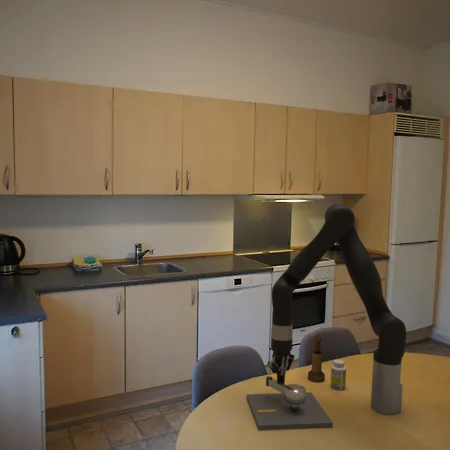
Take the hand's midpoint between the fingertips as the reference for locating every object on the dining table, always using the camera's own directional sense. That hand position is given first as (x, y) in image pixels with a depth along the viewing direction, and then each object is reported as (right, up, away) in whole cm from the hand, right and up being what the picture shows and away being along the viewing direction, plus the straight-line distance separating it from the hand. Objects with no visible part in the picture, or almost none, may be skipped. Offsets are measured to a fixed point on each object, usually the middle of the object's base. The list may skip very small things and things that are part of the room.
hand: (280, 383), depth 160 cm
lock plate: (+1, -7, -7) cm, 10 cm away
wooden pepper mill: (+17, -6, +21) cm, 28 cm away
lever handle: (0, -5, -5) cm, 7 cm away
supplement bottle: (+24, -7, +14) cm, 29 cm away
